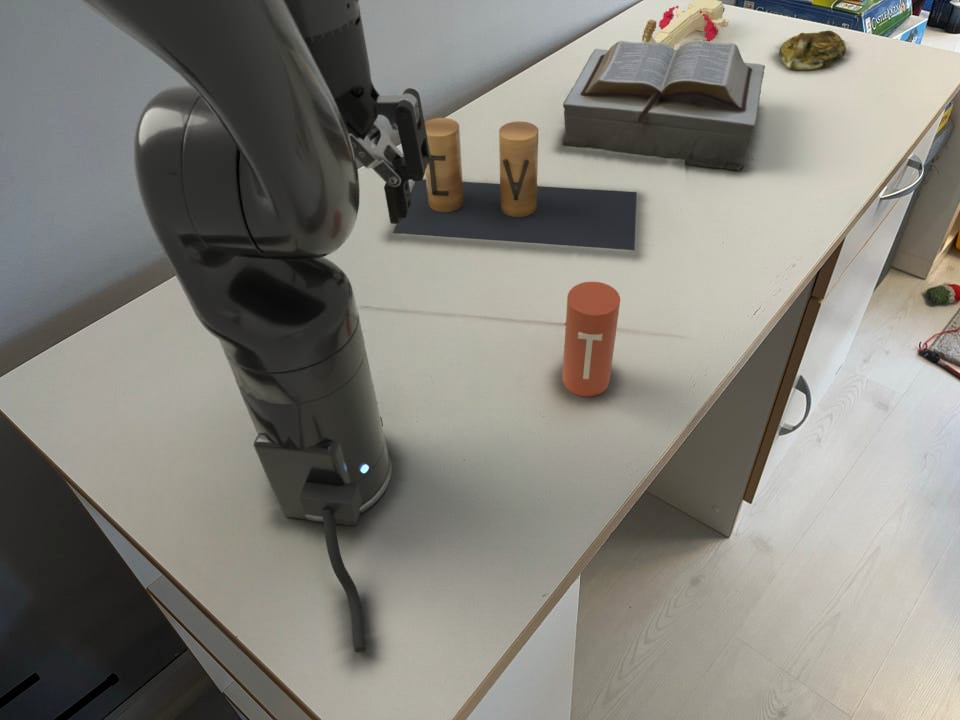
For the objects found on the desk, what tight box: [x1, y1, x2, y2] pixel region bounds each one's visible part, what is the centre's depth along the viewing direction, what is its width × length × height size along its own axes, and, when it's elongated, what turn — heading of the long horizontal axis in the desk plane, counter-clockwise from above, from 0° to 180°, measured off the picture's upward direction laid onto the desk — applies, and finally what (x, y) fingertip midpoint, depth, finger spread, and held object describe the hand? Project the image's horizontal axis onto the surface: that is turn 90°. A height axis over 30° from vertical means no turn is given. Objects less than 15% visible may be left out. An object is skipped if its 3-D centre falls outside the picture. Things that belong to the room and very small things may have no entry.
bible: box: [561, 40, 766, 171], centre depth 97 cm, size 23×27×10 cm
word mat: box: [392, 178, 637, 251], centre depth 86 cm, size 12×28×1 cm, turn 80°
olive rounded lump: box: [778, 30, 847, 71], centre depth 114 cm, size 9×5×15 cm
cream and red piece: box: [641, 0, 730, 49], centre depth 116 cm, size 10×9×25 cm
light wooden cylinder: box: [498, 121, 539, 217], centre depth 83 cm, size 5×4×10 cm
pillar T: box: [561, 281, 621, 398], centre depth 64 cm, size 4×4×10 cm
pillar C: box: [424, 117, 464, 212], centre depth 85 cm, size 4×4×10 cm
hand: (347, 214), depth 57 cm, fingers open, 8 cm apart
